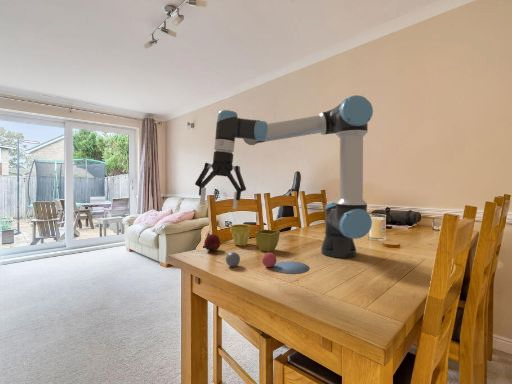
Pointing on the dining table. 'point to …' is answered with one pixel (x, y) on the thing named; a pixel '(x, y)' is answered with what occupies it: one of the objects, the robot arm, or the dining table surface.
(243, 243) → the plant pot
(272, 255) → the object ball
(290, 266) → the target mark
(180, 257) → the dining table surface
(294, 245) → the dining table surface
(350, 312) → the dining table surface
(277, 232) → the flower pot
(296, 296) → the dining table surface
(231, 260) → the blue-grey ball
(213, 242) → the dark red bumpy ball
